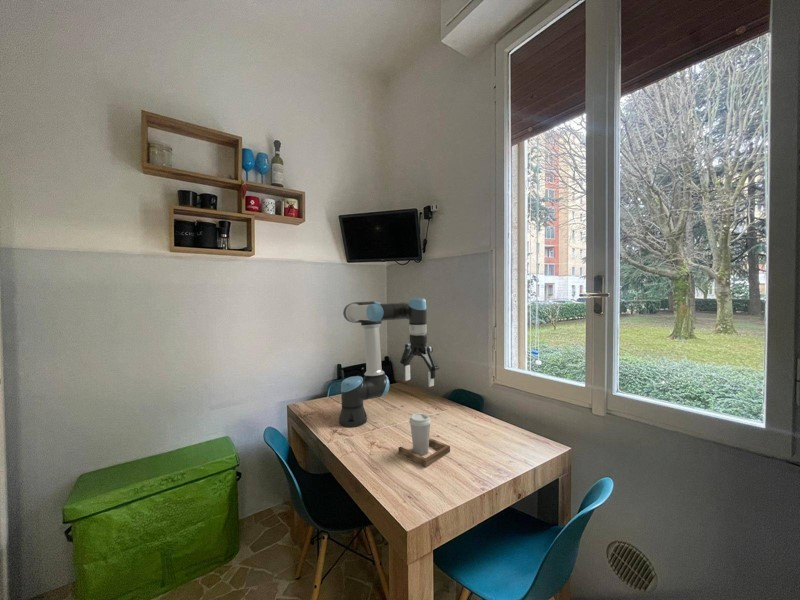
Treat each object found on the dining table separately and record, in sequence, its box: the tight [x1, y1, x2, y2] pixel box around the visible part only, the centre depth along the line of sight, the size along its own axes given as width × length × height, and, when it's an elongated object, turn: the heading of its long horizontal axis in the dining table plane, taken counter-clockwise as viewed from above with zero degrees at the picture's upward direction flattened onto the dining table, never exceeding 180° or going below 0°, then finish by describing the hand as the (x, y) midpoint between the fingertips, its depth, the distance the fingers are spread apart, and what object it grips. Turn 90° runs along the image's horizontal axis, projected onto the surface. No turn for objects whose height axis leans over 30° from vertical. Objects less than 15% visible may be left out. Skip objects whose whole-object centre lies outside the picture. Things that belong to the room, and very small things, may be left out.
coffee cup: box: [408, 412, 432, 456], centre depth 132 cm, size 10×10×15 cm
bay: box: [397, 437, 451, 468], centre depth 131 cm, size 16×16×2 cm
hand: (419, 383), depth 132 cm, fingers open, 13 cm apart
